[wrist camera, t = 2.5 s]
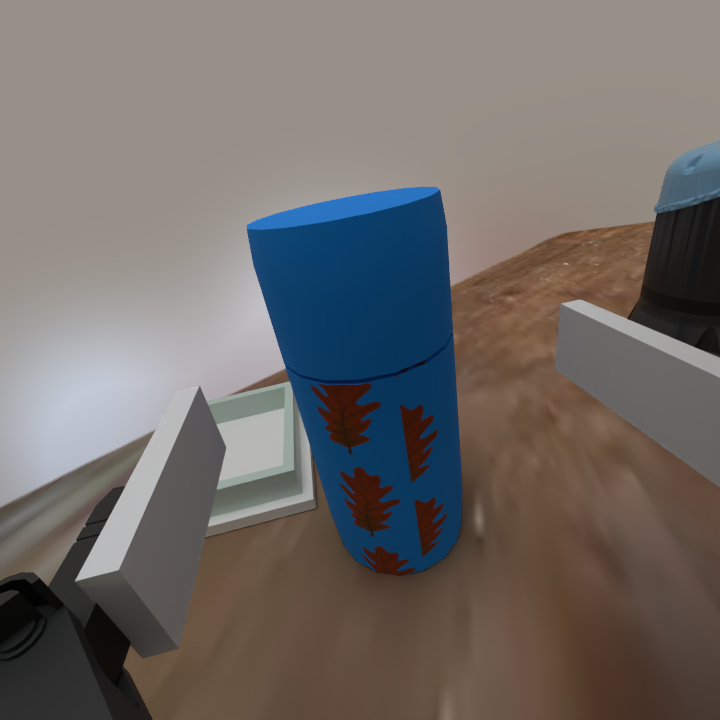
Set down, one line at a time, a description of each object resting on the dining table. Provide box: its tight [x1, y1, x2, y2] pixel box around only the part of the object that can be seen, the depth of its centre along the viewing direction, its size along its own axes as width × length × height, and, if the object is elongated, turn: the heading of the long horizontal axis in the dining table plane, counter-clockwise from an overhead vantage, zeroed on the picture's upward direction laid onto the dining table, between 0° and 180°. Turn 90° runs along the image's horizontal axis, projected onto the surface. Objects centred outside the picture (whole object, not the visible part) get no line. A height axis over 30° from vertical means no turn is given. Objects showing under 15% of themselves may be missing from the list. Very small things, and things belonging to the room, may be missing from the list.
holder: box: [163, 382, 317, 538], centre depth 40 cm, size 18×18×4 cm
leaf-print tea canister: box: [247, 187, 462, 575], centre depth 26 cm, size 11×11×25 cm
